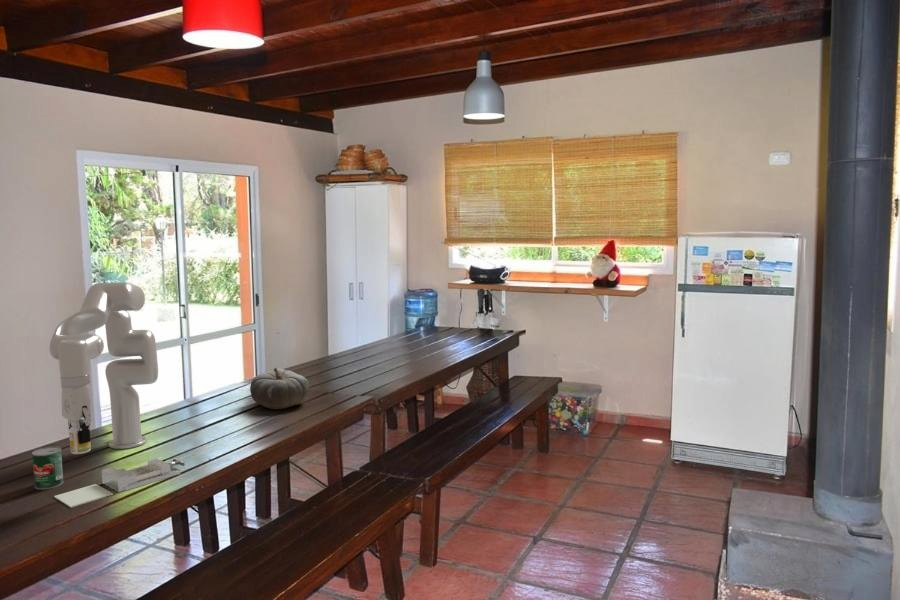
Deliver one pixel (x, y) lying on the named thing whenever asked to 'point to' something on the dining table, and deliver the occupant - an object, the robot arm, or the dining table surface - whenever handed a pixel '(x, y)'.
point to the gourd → (279, 389)
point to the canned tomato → (47, 468)
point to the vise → (138, 475)
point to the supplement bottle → (73, 437)
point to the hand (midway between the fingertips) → (80, 440)
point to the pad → (83, 495)
